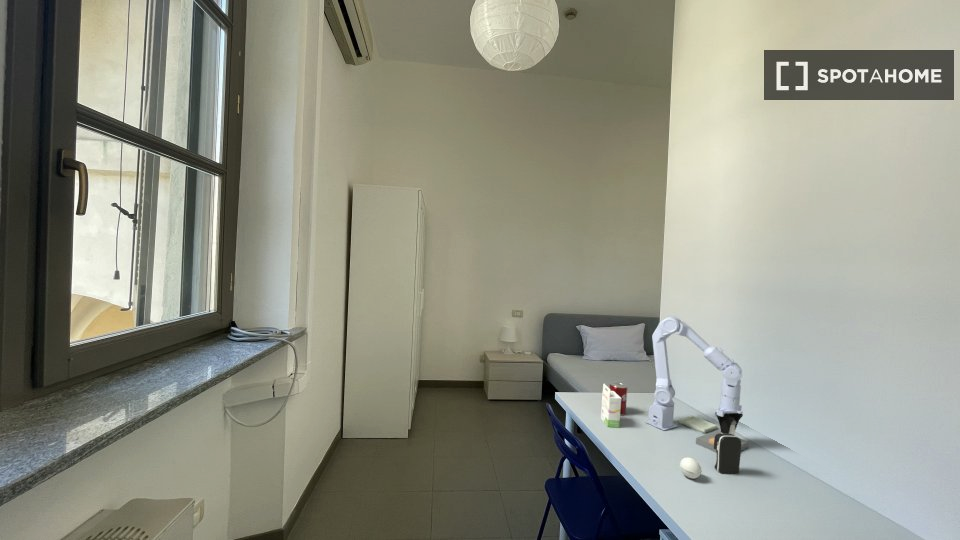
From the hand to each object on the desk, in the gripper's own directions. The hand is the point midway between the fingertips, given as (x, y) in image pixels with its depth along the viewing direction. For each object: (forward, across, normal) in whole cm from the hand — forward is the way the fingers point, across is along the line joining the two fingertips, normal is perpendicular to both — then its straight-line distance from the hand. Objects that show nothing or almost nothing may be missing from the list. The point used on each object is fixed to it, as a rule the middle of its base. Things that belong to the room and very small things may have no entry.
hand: (727, 432), depth 130 cm
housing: (+4, -4, 0) cm, 6 cm away
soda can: (+4, -16, +36) cm, 40 cm away
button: (+3, -9, 0) cm, 10 cm away
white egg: (+4, -37, -7) cm, 38 cm away
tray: (+4, +5, +13) cm, 14 cm away
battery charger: (+4, -22, -9) cm, 24 cm away
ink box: (+4, -28, +30) cm, 41 cm away
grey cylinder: (+3, 0, 0) cm, 3 cm away
